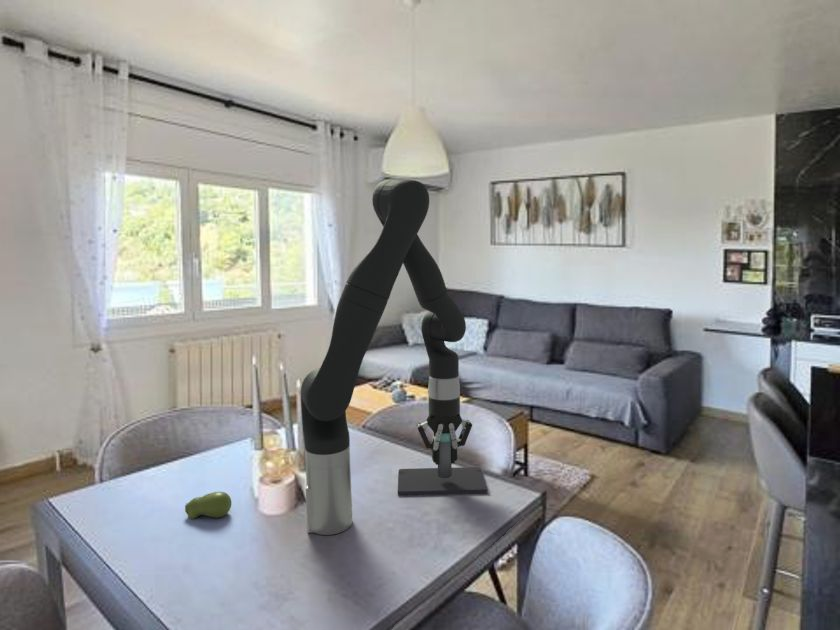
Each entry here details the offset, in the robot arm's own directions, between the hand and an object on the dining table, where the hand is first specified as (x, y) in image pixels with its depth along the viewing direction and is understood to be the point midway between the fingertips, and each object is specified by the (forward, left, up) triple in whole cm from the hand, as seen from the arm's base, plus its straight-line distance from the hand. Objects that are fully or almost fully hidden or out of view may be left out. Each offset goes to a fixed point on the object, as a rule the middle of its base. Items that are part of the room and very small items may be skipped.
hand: (444, 462), depth 128 cm
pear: (-54, -5, -6) cm, 55 cm away
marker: (0, 0, -3) cm, 3 cm away
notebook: (-1, +2, -7) cm, 7 cm away
